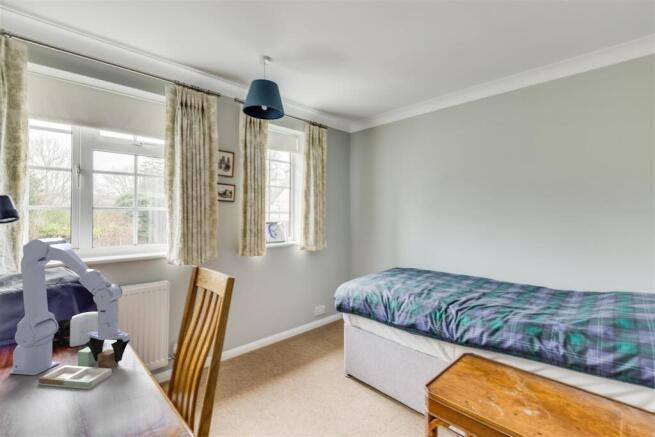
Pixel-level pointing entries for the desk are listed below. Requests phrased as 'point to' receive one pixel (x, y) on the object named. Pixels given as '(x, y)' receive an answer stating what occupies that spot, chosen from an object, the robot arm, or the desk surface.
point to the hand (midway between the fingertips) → (108, 360)
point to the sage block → (85, 357)
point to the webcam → (62, 333)
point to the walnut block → (106, 359)
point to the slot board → (75, 376)
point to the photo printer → (82, 327)
